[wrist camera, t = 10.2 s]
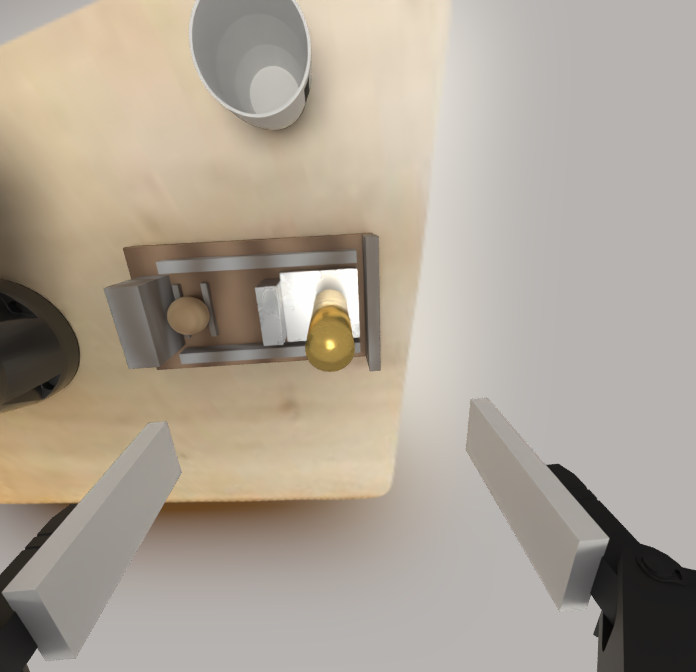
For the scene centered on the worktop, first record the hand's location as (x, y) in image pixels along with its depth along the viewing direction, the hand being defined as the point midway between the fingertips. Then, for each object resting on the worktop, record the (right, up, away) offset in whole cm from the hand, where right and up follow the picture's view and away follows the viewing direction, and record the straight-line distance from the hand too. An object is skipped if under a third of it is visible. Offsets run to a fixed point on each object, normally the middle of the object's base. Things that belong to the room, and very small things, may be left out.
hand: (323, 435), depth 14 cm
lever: (-3, +8, +22) cm, 24 cm away
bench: (-9, +8, +24) cm, 27 cm away
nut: (-16, +7, +22) cm, 28 cm away
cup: (-6, +27, +17) cm, 33 cm away
